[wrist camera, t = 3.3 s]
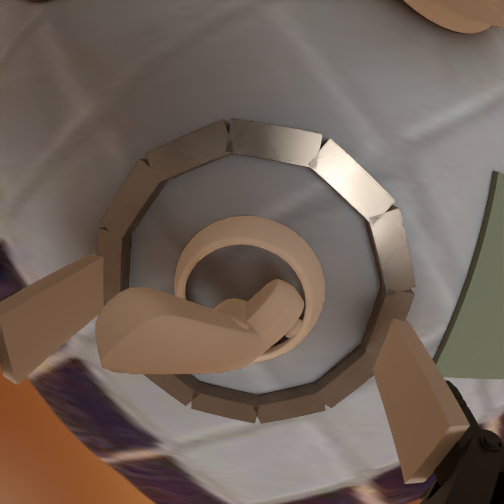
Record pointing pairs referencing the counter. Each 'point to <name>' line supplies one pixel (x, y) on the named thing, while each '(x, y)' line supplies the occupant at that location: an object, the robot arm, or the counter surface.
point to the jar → (461, 13)
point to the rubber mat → (480, 304)
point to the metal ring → (342, 181)
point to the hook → (213, 310)
